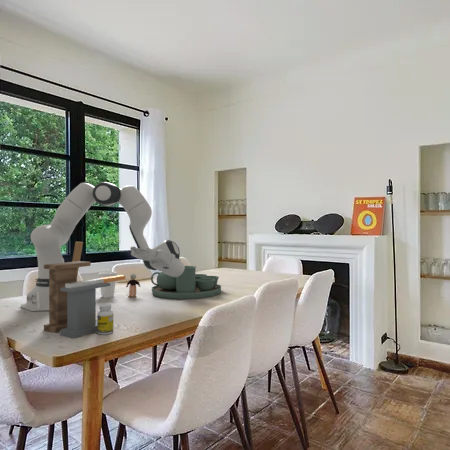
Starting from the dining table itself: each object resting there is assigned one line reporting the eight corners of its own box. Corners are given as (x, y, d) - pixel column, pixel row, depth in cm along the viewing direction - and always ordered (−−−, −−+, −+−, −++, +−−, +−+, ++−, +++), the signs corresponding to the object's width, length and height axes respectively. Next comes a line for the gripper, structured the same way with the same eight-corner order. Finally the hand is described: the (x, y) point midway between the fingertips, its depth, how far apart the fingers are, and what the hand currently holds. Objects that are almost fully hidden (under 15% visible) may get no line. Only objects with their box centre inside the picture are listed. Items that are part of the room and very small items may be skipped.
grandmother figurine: (125, 297, 191) (125, 274, 191) (126, 296, 195) (126, 273, 195) (140, 297, 193) (140, 273, 193) (140, 295, 197) (140, 272, 197)
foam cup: (117, 297, 192) (117, 273, 192) (98, 298, 189) (98, 274, 189) (116, 294, 201) (116, 271, 201) (98, 295, 198) (98, 272, 198)
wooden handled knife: (65, 288, 124) (65, 283, 124) (120, 278, 145) (120, 275, 145) (70, 288, 122) (70, 284, 122) (125, 279, 144) (125, 275, 144)
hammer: (89, 294, 213) (97, 245, 212) (84, 296, 208) (93, 245, 207) (58, 287, 216) (66, 238, 215) (53, 289, 211) (61, 239, 210)
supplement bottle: (94, 334, 126) (93, 306, 126) (104, 329, 131) (104, 303, 131) (106, 335, 124) (106, 307, 124) (116, 331, 129) (116, 304, 129)
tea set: (235, 294, 201) (235, 264, 202) (171, 303, 178) (171, 269, 178) (198, 285, 234) (198, 260, 234) (140, 291, 210) (140, 263, 211)
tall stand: (43, 330, 131) (43, 264, 131) (78, 321, 144) (78, 261, 144) (55, 333, 127) (55, 265, 127) (90, 323, 140) (90, 261, 140)
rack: (60, 335, 124) (60, 287, 124) (97, 324, 138) (97, 281, 138) (73, 338, 121) (73, 289, 121) (110, 326, 135) (110, 283, 135)
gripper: (145, 251, 171) (125, 240, 161) (178, 255, 160) (158, 243, 149) (141, 264, 169) (120, 253, 159) (173, 268, 158) (153, 257, 147)
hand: (139, 248), depth 154 cm, fingers open, 8 cm apart
